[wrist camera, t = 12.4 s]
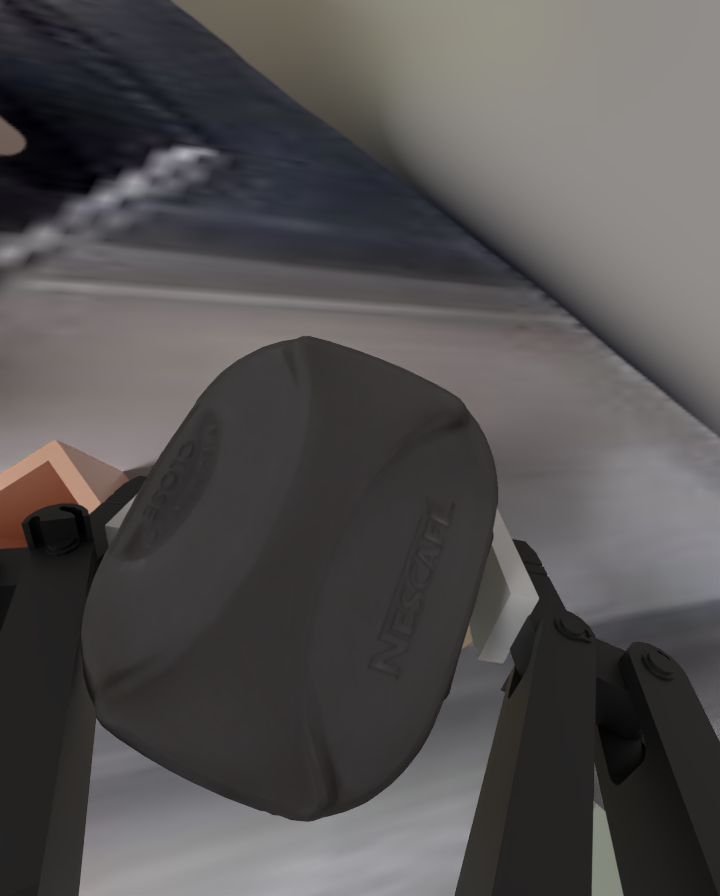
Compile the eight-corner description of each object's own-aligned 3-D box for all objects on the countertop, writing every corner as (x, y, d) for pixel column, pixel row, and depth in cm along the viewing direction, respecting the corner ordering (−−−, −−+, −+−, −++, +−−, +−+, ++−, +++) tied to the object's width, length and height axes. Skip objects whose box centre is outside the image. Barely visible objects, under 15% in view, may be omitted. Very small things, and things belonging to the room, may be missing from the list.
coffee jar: (296, 466, 26) (234, 249, 8) (403, 511, 26) (577, 386, 8) (227, 609, 23) (-97, 745, 5) (349, 662, 23) (433, 991, 5)
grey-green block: (498, 839, 22) (547, 915, 17) (540, 755, 23) (596, 804, 18) (572, 905, 21) (644, 1004, 16) (610, 815, 23) (687, 881, 18)
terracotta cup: (23, 540, 24) (-91, 529, 18) (123, 472, 26) (55, 439, 19) (80, 630, 23) (-18, 655, 16) (182, 552, 25) (131, 546, 18)
